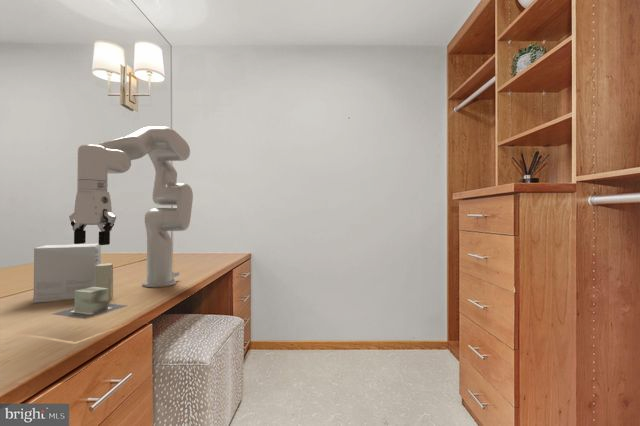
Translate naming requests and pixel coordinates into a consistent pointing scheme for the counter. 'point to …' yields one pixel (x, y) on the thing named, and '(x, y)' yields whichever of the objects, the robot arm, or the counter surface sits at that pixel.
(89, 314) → the letter card
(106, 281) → the skincare box
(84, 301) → the sage block
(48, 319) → the counter surface
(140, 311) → the counter surface
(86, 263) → the supplement box
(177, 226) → the robot arm
